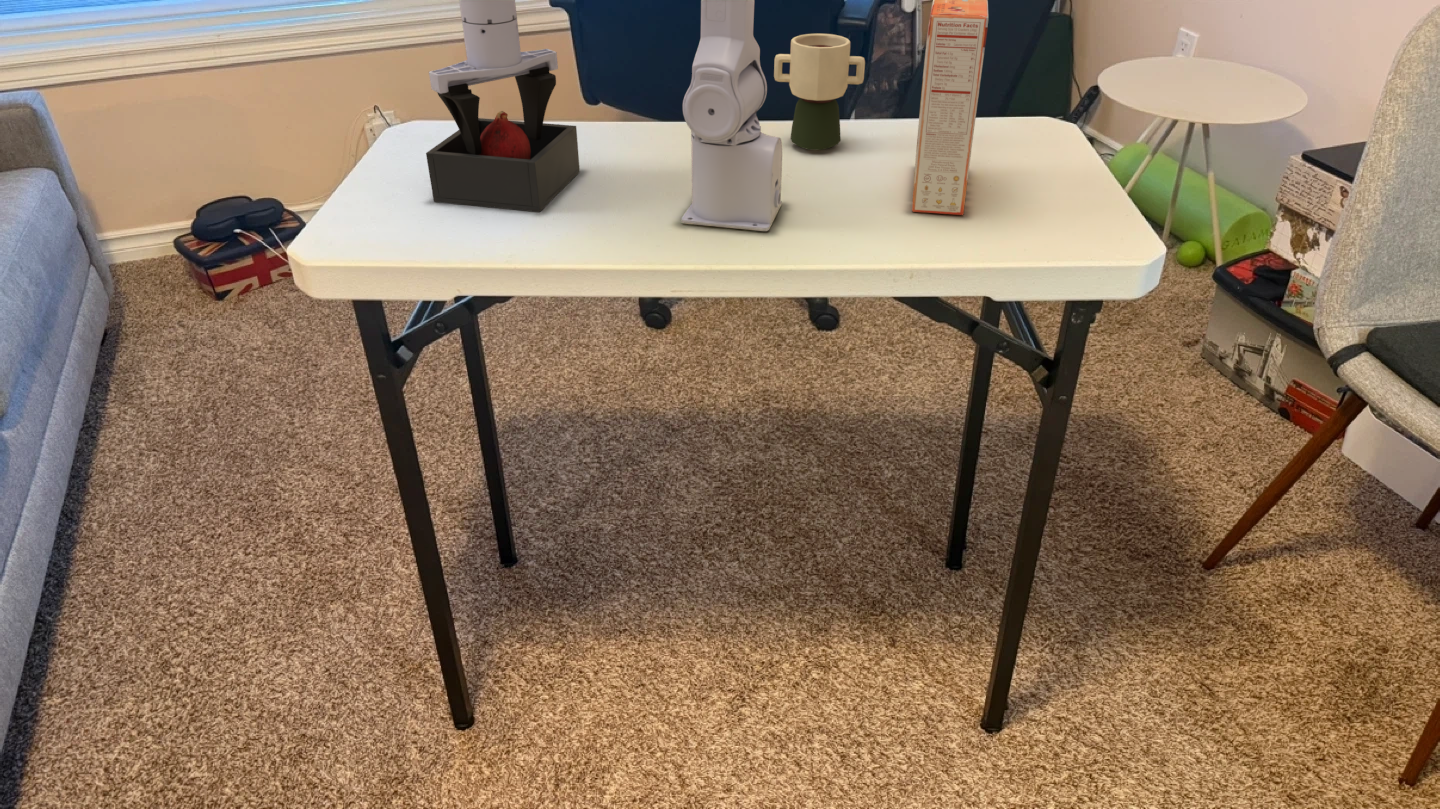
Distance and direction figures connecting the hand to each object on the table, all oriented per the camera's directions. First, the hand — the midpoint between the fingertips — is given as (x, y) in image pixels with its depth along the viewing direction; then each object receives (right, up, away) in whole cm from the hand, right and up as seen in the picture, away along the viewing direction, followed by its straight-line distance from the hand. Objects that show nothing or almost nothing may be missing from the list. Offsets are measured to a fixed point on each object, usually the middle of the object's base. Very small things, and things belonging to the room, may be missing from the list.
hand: (504, 145), depth 114 cm
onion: (0, -4, +2) cm, 5 cm away
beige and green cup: (+36, +3, +15) cm, 39 cm away
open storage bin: (0, -4, +3) cm, 5 cm away
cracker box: (+49, -5, +2) cm, 49 cm away
